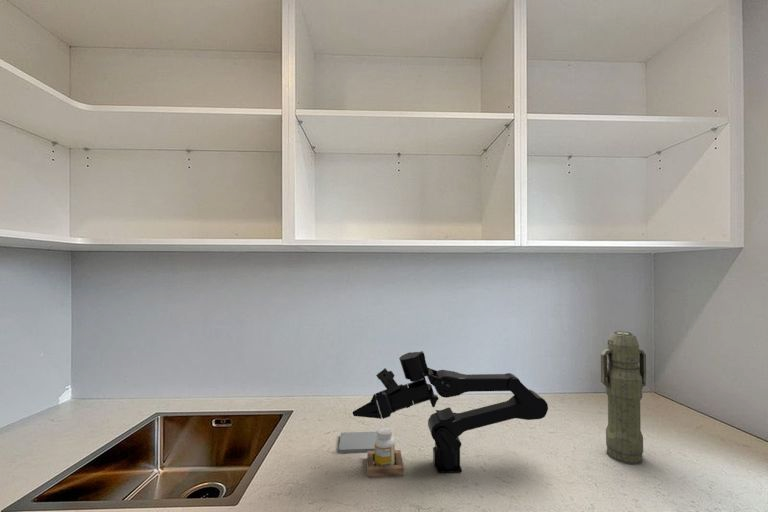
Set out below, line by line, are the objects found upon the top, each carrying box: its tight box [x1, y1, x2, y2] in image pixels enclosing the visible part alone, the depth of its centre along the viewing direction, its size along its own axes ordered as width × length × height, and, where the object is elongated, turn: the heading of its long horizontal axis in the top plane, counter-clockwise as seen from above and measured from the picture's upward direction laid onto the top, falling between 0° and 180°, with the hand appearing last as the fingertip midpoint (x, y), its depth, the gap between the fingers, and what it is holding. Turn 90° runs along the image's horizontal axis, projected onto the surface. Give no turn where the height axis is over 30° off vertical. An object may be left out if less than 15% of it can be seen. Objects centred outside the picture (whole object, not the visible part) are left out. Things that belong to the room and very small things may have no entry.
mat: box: [338, 431, 377, 454], centre depth 117 cm, size 12×11×1 cm
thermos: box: [600, 330, 647, 466], centre depth 108 cm, size 9×12×35 cm
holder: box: [366, 449, 405, 478], centre depth 104 cm, size 9×9×2 cm
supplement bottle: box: [374, 427, 396, 466], centre depth 104 cm, size 5×5×10 cm
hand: (355, 412), depth 103 cm, fingers open, 9 cm apart
